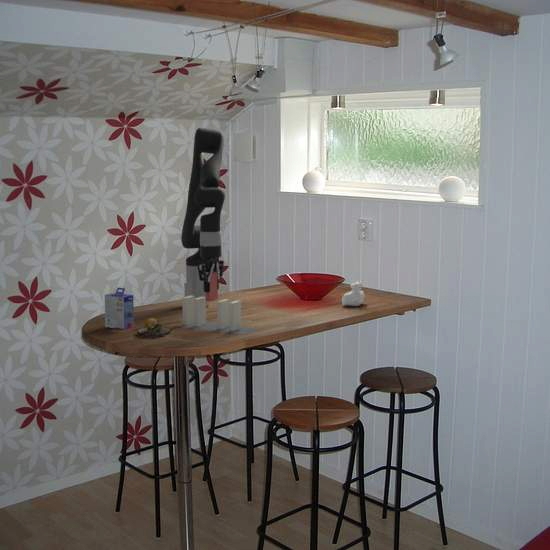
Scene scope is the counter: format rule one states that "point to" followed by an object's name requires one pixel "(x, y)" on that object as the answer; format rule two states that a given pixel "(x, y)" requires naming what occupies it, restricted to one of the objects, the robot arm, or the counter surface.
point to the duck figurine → (354, 295)
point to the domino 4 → (234, 315)
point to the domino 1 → (188, 310)
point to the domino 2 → (199, 311)
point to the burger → (152, 329)
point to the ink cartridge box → (119, 310)
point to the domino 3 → (223, 314)
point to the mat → (213, 327)
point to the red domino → (212, 288)
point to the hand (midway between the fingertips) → (211, 290)
